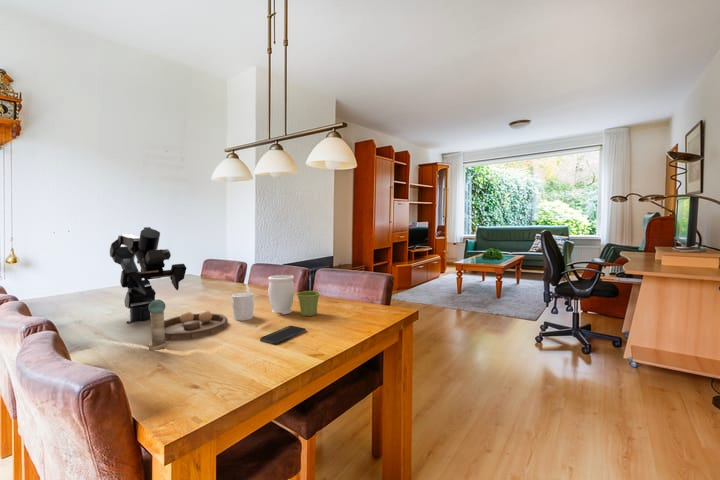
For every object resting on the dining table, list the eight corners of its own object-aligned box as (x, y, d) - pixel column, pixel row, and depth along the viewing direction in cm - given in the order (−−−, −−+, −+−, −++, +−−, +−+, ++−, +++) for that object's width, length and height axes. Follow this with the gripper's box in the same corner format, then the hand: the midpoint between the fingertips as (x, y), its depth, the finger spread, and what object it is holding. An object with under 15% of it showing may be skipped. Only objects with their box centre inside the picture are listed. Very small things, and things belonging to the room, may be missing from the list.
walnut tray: (137, 338, 110) (137, 329, 109) (192, 318, 131) (192, 311, 131) (191, 346, 102) (190, 336, 102) (240, 324, 123) (239, 316, 123)
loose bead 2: (196, 323, 121) (195, 311, 121) (205, 320, 125) (205, 308, 125) (205, 325, 120) (205, 312, 119) (214, 321, 124) (214, 309, 123)
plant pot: (292, 314, 137) (292, 293, 136) (312, 309, 143) (312, 289, 142) (304, 319, 130) (304, 297, 129) (325, 314, 136) (324, 293, 135)
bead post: (144, 349, 100) (142, 301, 99) (159, 343, 105) (157, 297, 104) (157, 351, 98) (155, 302, 97) (172, 345, 103) (170, 298, 102)
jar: (271, 309, 144) (270, 274, 143) (295, 308, 145) (295, 274, 144) (266, 316, 134) (265, 279, 133) (292, 315, 134) (292, 278, 133)
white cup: (247, 323, 124) (246, 297, 123) (228, 322, 126) (227, 296, 125) (258, 317, 132) (257, 292, 131) (240, 316, 133) (239, 291, 133)
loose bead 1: (177, 324, 120) (176, 312, 120) (187, 321, 124) (186, 309, 124) (186, 326, 118) (186, 313, 118) (196, 322, 123) (196, 310, 122)
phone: (258, 338, 107) (290, 325, 120) (258, 342, 107) (290, 328, 120) (277, 342, 103) (307, 328, 116) (277, 346, 103) (307, 331, 116)
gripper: (118, 244, 107) (132, 276, 99) (181, 241, 121) (197, 269, 112) (115, 271, 112) (127, 303, 103) (175, 265, 125) (190, 293, 117)
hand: (162, 291), depth 109 cm, fingers open, 9 cm apart
